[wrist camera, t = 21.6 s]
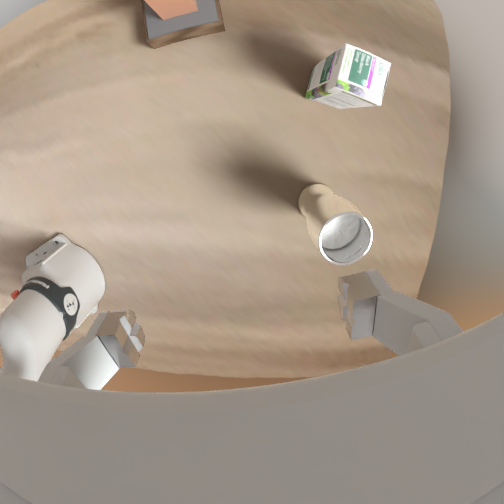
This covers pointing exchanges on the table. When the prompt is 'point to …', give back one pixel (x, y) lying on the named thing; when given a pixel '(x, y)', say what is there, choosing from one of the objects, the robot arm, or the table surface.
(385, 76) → the syrup box
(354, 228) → the beer glass
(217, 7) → the walnut plinth
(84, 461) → the robot arm
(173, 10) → the terracotta block
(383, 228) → the table surface
